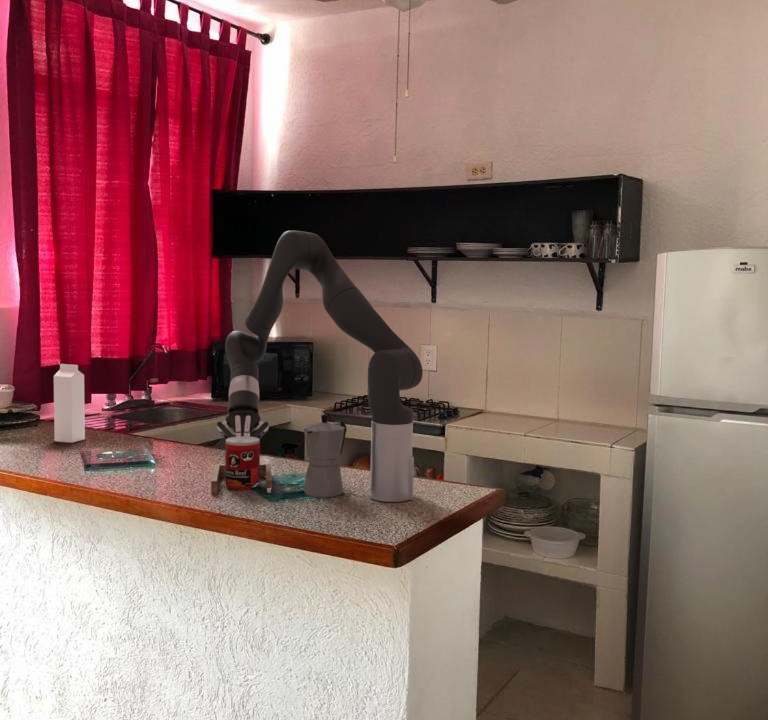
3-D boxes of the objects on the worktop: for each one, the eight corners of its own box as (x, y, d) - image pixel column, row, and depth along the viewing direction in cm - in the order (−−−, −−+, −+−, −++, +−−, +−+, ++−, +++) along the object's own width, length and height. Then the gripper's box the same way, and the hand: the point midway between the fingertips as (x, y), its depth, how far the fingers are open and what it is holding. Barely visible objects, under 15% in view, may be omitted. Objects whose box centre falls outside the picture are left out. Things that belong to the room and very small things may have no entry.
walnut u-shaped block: (270, 475, 212) (270, 463, 212) (271, 493, 195) (271, 480, 195) (214, 476, 210) (214, 464, 210) (211, 494, 193) (211, 481, 193)
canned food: (218, 487, 199) (218, 440, 198) (237, 480, 206) (237, 434, 205) (247, 492, 196) (247, 444, 195) (265, 484, 203) (266, 438, 202)
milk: (67, 437, 254) (66, 362, 252) (85, 439, 252) (84, 363, 250) (54, 441, 248) (53, 364, 246) (72, 443, 246) (71, 365, 244)
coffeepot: (324, 502, 189) (325, 420, 187) (289, 495, 194) (290, 416, 192) (361, 487, 202) (362, 411, 201) (327, 482, 207) (328, 407, 205)
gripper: (216, 388, 212) (212, 448, 201) (270, 389, 214) (270, 448, 203) (217, 406, 218) (213, 465, 207) (270, 406, 219) (269, 465, 209)
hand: (241, 457), depth 205 cm, fingers closed
